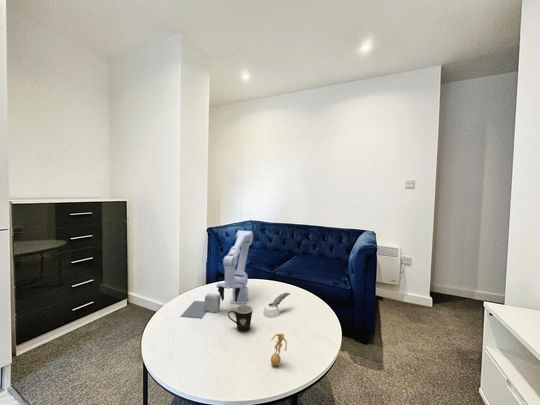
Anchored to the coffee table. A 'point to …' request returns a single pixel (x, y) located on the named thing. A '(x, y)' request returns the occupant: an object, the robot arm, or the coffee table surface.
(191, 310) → the mat
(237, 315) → the coffee mug
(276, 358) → the figurine
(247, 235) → the robot arm
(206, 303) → the medicine box
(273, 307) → the inkwell
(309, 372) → the coffee table surface
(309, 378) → the coffee table surface
